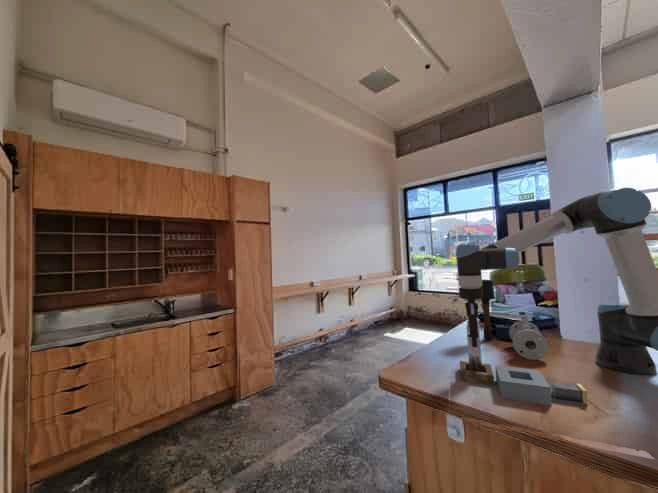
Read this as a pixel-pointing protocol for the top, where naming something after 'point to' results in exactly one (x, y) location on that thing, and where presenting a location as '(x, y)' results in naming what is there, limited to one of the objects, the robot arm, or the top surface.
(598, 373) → the top surface
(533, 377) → the socket block
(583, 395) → the yellow capped grey block
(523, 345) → the valve
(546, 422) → the top surface
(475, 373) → the brown square frame
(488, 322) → the potato masher grenade
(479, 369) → the peg
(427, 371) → the top surface
